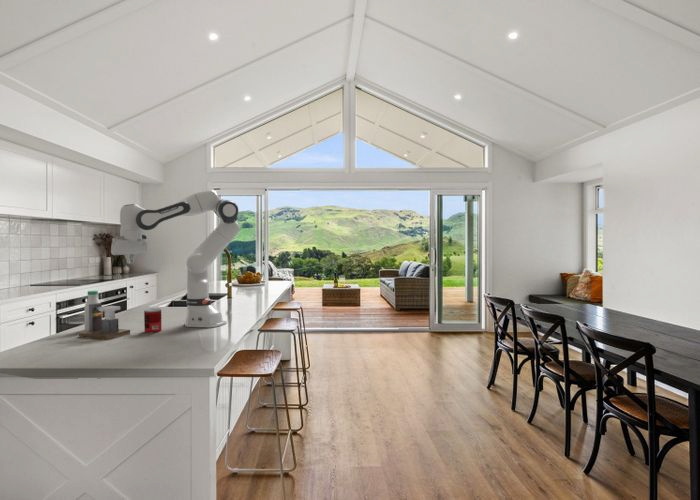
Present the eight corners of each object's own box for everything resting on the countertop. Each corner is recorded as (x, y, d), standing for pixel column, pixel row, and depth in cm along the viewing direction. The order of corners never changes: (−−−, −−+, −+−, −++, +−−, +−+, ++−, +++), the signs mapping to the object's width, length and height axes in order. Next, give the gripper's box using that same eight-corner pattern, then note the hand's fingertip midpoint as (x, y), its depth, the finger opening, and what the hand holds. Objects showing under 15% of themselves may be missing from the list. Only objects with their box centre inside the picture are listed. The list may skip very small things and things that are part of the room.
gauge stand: (130, 333, 209) (129, 303, 209) (106, 340, 197) (106, 307, 197) (102, 331, 216) (102, 301, 215) (78, 336, 203) (78, 305, 203)
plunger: (120, 322, 207) (120, 306, 207) (109, 325, 201) (108, 308, 201) (103, 321, 211) (103, 305, 210) (91, 323, 205) (91, 307, 204)
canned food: (164, 329, 219) (164, 308, 219) (155, 333, 211) (155, 311, 211) (150, 329, 220) (150, 308, 219) (141, 332, 212) (140, 310, 211)
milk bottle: (96, 331, 215) (95, 292, 214) (81, 331, 215) (80, 292, 214) (105, 328, 222) (104, 290, 222) (90, 328, 222) (90, 290, 222)
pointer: (103, 314, 209) (103, 313, 209) (97, 315, 206) (97, 314, 206) (100, 314, 209) (100, 312, 209) (94, 315, 206) (94, 314, 206)
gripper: (117, 236, 206) (117, 264, 207) (150, 236, 226) (150, 262, 226) (107, 236, 209) (108, 264, 209) (141, 236, 228) (141, 262, 228)
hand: (130, 263), depth 218 cm, fingers closed
